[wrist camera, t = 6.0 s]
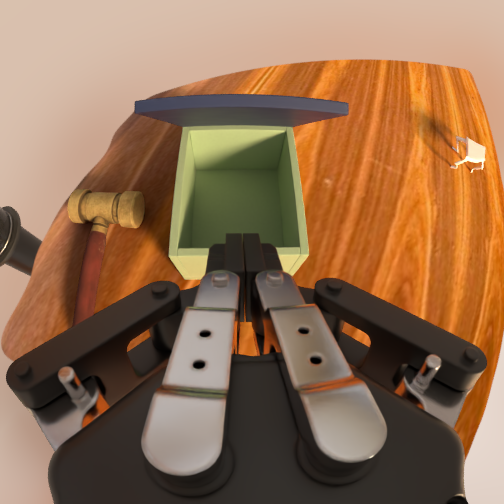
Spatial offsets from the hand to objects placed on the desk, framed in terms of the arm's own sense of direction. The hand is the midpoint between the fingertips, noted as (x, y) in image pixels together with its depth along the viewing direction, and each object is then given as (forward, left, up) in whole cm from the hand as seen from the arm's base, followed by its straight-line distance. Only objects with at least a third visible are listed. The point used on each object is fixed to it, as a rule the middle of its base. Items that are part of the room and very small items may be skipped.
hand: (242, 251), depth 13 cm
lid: (-5, +12, -5) cm, 14 cm away
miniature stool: (+30, +41, -20) cm, 55 cm away
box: (-5, +10, -20) cm, 23 cm away
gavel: (-18, -4, -20) cm, 27 cm away
